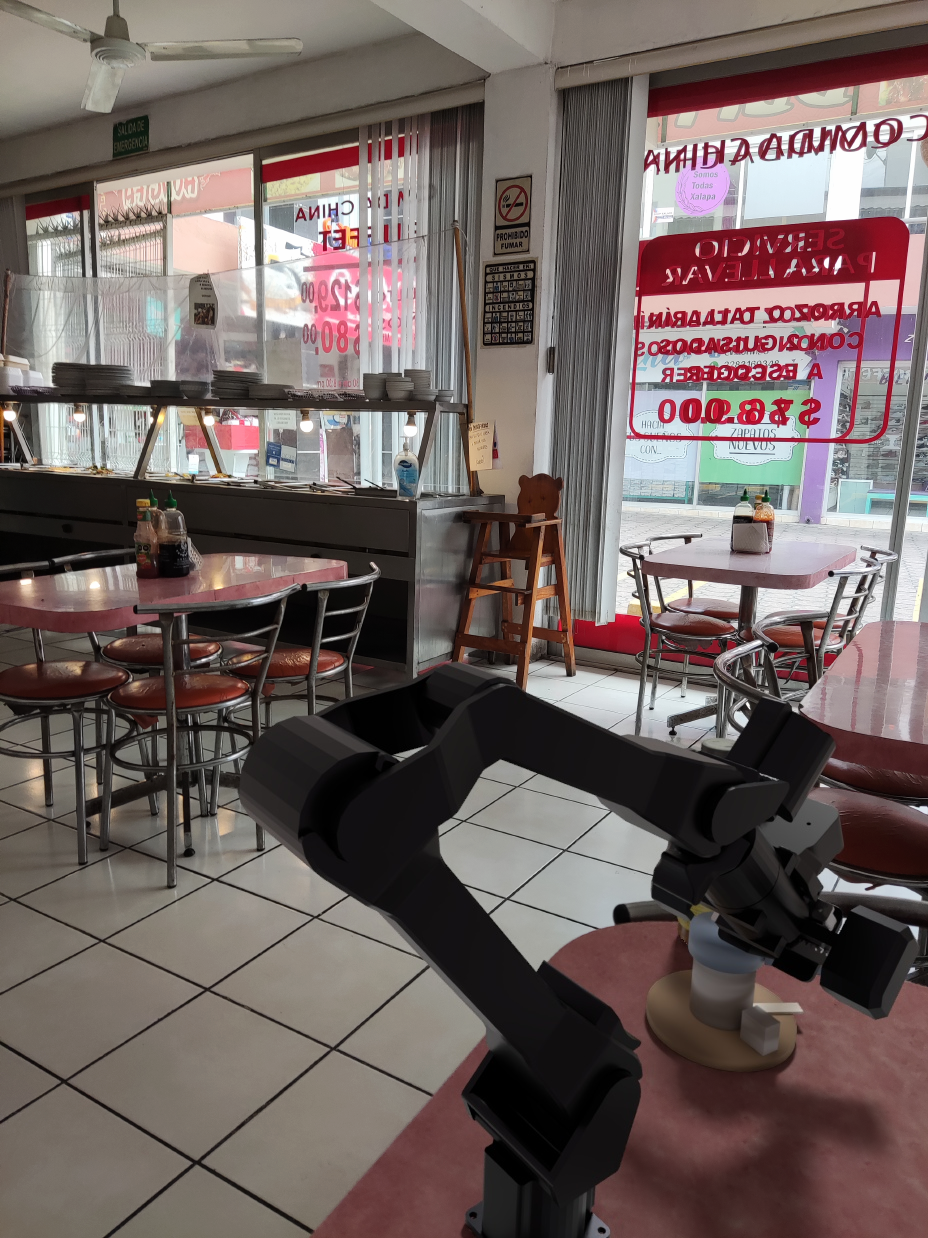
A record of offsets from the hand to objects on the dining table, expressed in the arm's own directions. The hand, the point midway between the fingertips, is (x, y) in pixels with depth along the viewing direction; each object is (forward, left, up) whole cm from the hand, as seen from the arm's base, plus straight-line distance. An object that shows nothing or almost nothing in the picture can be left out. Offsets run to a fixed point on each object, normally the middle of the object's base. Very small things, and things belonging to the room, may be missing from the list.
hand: (807, 961), depth 70 cm
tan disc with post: (-2, +6, -8) cm, 10 cm away
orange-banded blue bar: (0, +2, -1) cm, 3 cm away
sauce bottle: (+8, +14, -8) cm, 18 cm away
